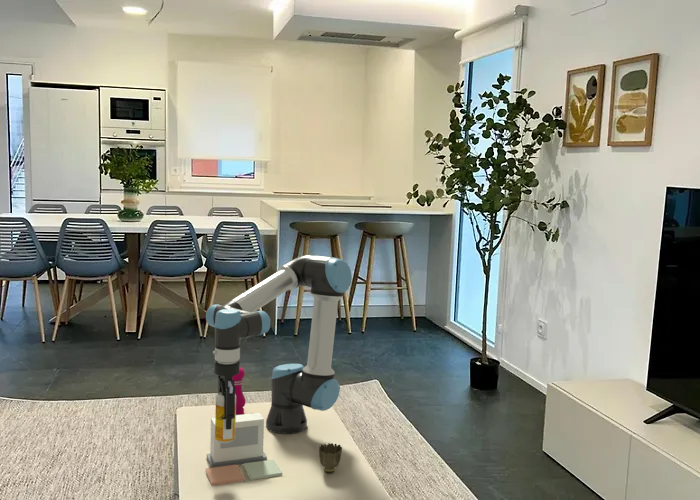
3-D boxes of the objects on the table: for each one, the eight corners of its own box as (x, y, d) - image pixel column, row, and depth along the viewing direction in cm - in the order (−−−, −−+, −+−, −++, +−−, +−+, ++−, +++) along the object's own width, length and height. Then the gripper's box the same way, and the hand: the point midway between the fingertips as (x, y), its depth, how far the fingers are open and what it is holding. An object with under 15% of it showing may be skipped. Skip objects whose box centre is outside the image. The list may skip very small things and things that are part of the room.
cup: (318, 465, 212) (319, 441, 212) (341, 466, 212) (342, 443, 211) (317, 476, 205) (318, 451, 204) (340, 477, 205) (341, 452, 204)
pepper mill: (241, 417, 251) (242, 366, 249) (223, 415, 252) (224, 365, 250) (247, 411, 258) (249, 361, 256) (230, 409, 259) (231, 359, 257)
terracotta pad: (237, 466, 209) (237, 464, 209) (244, 480, 200) (244, 478, 200) (205, 470, 205) (205, 468, 205) (211, 485, 196) (211, 482, 196)
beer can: (213, 437, 203) (214, 390, 201) (232, 435, 205) (233, 388, 204) (217, 445, 197) (218, 396, 196) (237, 442, 200) (238, 394, 198)
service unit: (260, 451, 221) (261, 411, 220) (266, 461, 214) (267, 419, 212) (206, 458, 214) (207, 417, 213) (211, 468, 207) (212, 426, 206)
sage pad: (273, 461, 214) (273, 459, 214) (282, 475, 205) (282, 472, 205) (243, 465, 210) (243, 463, 210) (250, 479, 201) (250, 477, 201)
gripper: (208, 353, 206) (207, 424, 208) (221, 370, 189) (219, 448, 191) (232, 351, 209) (230, 422, 211) (246, 368, 191) (244, 445, 194)
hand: (225, 434), depth 201 cm, fingers closed on beer can, 6 cm apart
